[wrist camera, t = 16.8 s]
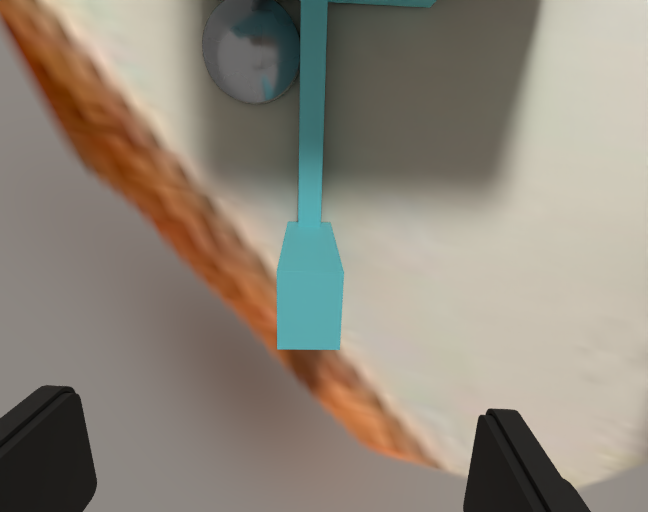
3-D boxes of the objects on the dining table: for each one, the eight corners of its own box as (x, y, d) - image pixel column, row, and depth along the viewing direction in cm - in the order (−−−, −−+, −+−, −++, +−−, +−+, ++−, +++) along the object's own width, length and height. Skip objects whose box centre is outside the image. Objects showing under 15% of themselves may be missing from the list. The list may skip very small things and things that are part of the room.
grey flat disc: (281, -16, 22) (278, -25, 21) (314, 85, 24) (313, 81, 23) (193, 22, 23) (185, 16, 22) (231, 117, 25) (226, 116, 23)
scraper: (401, 276, 27) (451, 350, 18) (212, 273, 27) (159, 348, 17) (432, -16, 22) (530, -136, 12) (192, -31, 21) (97, -170, 11)
